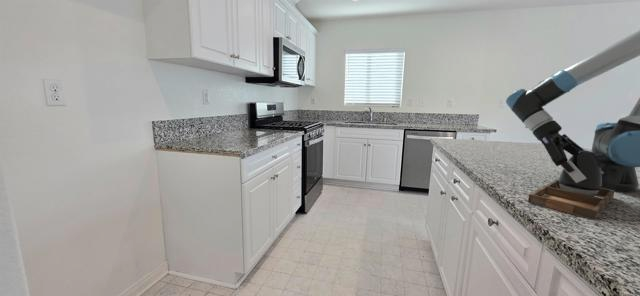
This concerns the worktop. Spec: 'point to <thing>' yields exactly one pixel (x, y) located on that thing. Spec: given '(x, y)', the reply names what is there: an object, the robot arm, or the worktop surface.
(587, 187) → the dark grey egg shape
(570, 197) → the rack
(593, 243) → the worktop surface
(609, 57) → the robot arm
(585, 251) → the worktop surface
